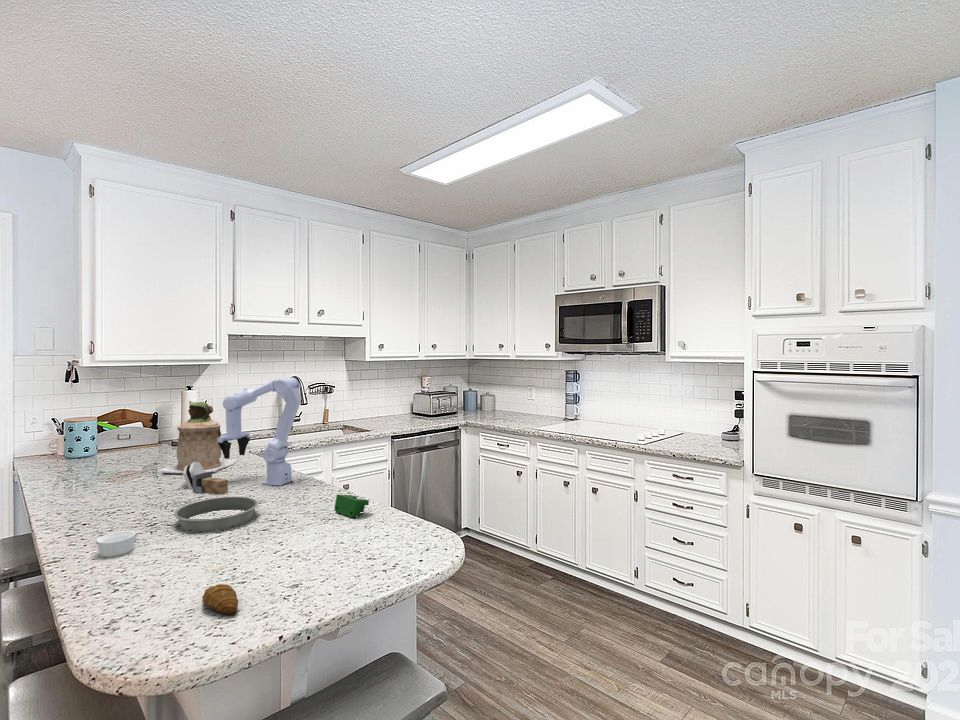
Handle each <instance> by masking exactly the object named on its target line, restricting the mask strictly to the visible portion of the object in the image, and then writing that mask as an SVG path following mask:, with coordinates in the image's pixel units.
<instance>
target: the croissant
mask: <svg viewBox="0 0 960 720" xmlns="http://www.w3.org/2000/svg"><path fill="white" fill-rule="evenodd" d="M237 597H238V596H237V592H236V590H235V589H234V588H233V587H232V586H231V585H230V584H223V583H219V584H215V585H213V586H210V587H208V588H206V589H205V590H204V593H203V595H202V597H201V598H202V599H201V601H202V604H204V605H205V606H206V607H207V608H208V609H209V610H211V611H214V612H216V613H218V614H221V615H224V616H234V615H235V614H237V611H238V610H237V609H238V606H239V599H238V598H237Z"/></svg>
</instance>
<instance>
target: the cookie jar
mask: <svg viewBox="0 0 960 720" xmlns="http://www.w3.org/2000/svg"><path fill="white" fill-rule="evenodd" d="M188 404H189V406H188V408H189V409H188V410H187V412H188V413H189V415H190V418H189V419H188V420H187V421H185V422H184V423H182V424H180V425H179V424H178V425H177V431H178V439H177V440H178V441H177V448H176V459H177V465H171V466H168V467H167V466H166V467H164V468H159V471H160V473H161V475H162V474H163V473H164V474H183V471H184V468H185V467H186V466H187V465H189V464H192V463H194V462H200V464H201V466H202V468H203V470H204V472H212V473H217V472H218V471H219V470H223V469H226V468H228V467H230V466H232V465H235V464H236V463H237V459H233V458H232V459H230V458H229V459H220V458H221V457H222V450H221V448H220V446H219V445H218V438H219V437H222V432H221V424H220V423H218V421H216V420H215V419H212V417H211V416H210V414H212V413H213V412H214V407H213V406H211V405H209V404H208V403H207V402H204V401H198V402H197V401H196V402H195V401H191V400H188ZM164 474H163V475H164Z"/></svg>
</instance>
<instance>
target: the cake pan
mask: <svg viewBox="0 0 960 720" xmlns="http://www.w3.org/2000/svg"><path fill="white" fill-rule="evenodd" d="M258 505H259V501H258V500H257V499H255V498H252V497H248V496H220V497H215V498H214V497H213V498H207V499H204V500H199V501H195V502H191V503H188V504H186V505H183V506H181V507H179V508H178V509H176V510H175V511H174V513H173V515H174V518H175V519H178V522H179V526H180V527H181V528H182V529H183V530H185V529H186V530H185V531H189V530H192V531H191V532H208V531H207V530H213V531H217V530H216V529H220V530H224V529H223V528H226V529H229V528H228V527H230V528H233V527H232V526H234V527H236V526H235V525H237V526H239V524H240V525H243V524H245V523H247V522H249V521H251V519H253V517H254V514H255V509H256V508H257V507H258ZM220 510H234V511H235V510H242V511H243V510H244V512H241V513H238V514H235V515H230V516H226V517H220V518H213V519H189V518H190V517H193V516H196V515H199V514H203V513H208V512H212V511H220ZM248 520H249V521H248ZM246 521H247V522H246ZM244 522H245V523H244ZM242 523H243V524H242Z"/></svg>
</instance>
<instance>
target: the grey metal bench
mask: <svg viewBox="0 0 960 720" xmlns="http://www.w3.org/2000/svg"><path fill="white" fill-rule="evenodd" d="M212 475H213V472H205V473H201V474H197V475H194V476H192V479H193V488H192V493H194V492H195V494H201V495H202V494H204V493H205V492H204V487H203V486H202V480H201V479H204V478H208V477H211V478H213V476H212Z"/></svg>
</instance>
